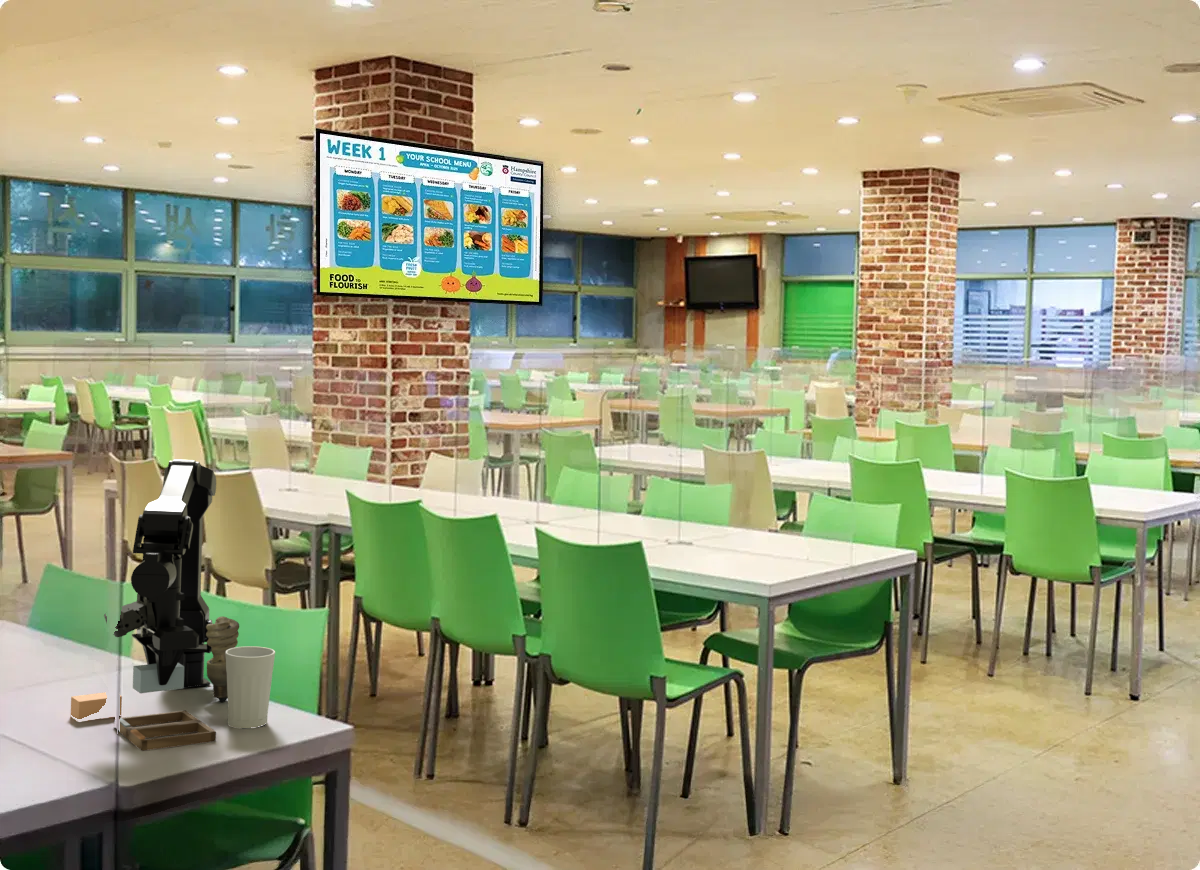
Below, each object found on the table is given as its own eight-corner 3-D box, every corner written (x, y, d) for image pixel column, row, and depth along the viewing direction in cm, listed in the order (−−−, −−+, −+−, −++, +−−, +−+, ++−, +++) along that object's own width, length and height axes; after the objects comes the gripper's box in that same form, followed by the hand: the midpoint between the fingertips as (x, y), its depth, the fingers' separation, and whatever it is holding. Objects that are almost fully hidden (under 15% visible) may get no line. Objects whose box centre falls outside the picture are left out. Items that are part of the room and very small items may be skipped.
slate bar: (132, 688, 216) (133, 665, 216) (175, 683, 220) (176, 661, 220) (140, 693, 213) (140, 670, 213) (183, 688, 217) (184, 666, 217)
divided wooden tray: (113, 727, 216) (114, 716, 216) (185, 719, 223) (185, 708, 223) (141, 750, 205) (142, 739, 205) (215, 741, 212) (216, 729, 212)
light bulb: (219, 707, 231) (222, 621, 230) (196, 701, 234) (199, 616, 233) (243, 701, 236) (246, 616, 235) (220, 695, 239) (223, 611, 238)
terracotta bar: (70, 718, 221) (71, 696, 221) (112, 712, 225) (113, 691, 225) (78, 723, 218) (79, 701, 218) (121, 717, 223) (121, 696, 222)
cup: (259, 732, 218) (262, 659, 217) (213, 726, 220) (216, 654, 219) (280, 719, 226) (283, 649, 225) (236, 714, 228) (239, 644, 227)
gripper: (93, 579, 218) (90, 674, 219) (129, 600, 203) (126, 701, 204) (161, 575, 225) (158, 667, 226) (201, 595, 210) (198, 693, 211)
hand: (158, 682), depth 217 cm, fingers closed on slate bar, 4 cm apart
